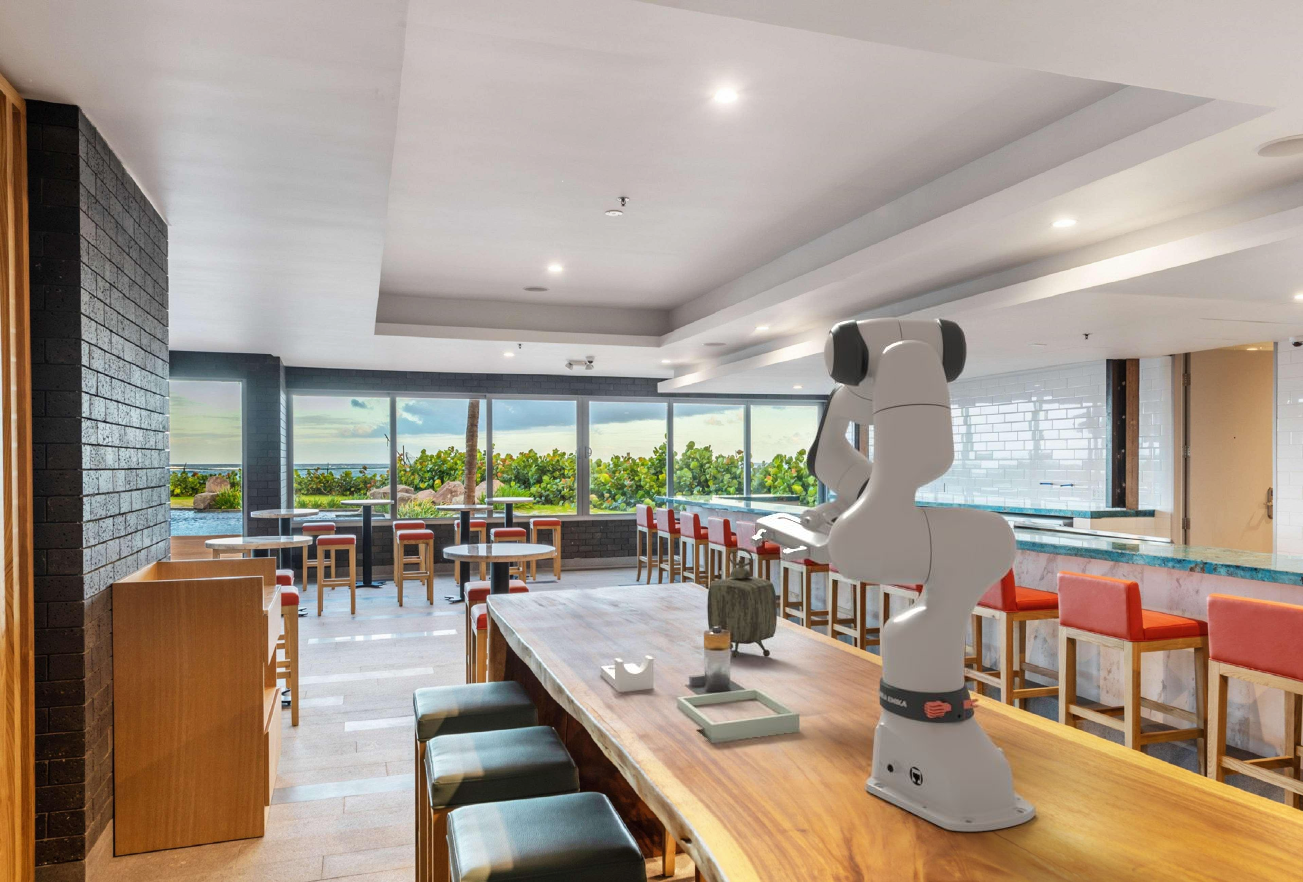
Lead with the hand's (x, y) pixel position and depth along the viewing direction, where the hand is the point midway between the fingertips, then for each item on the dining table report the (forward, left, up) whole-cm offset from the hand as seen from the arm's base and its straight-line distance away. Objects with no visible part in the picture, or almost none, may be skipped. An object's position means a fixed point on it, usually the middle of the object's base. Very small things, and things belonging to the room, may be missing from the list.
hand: (768, 549), depth 157 cm
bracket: (+15, +24, -29) cm, 41 cm away
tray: (-11, +12, -28) cm, 33 cm away
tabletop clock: (+32, -9, -29) cm, 43 cm away
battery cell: (+4, +9, -27) cm, 29 cm away
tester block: (+4, +9, -28) cm, 30 cm away
